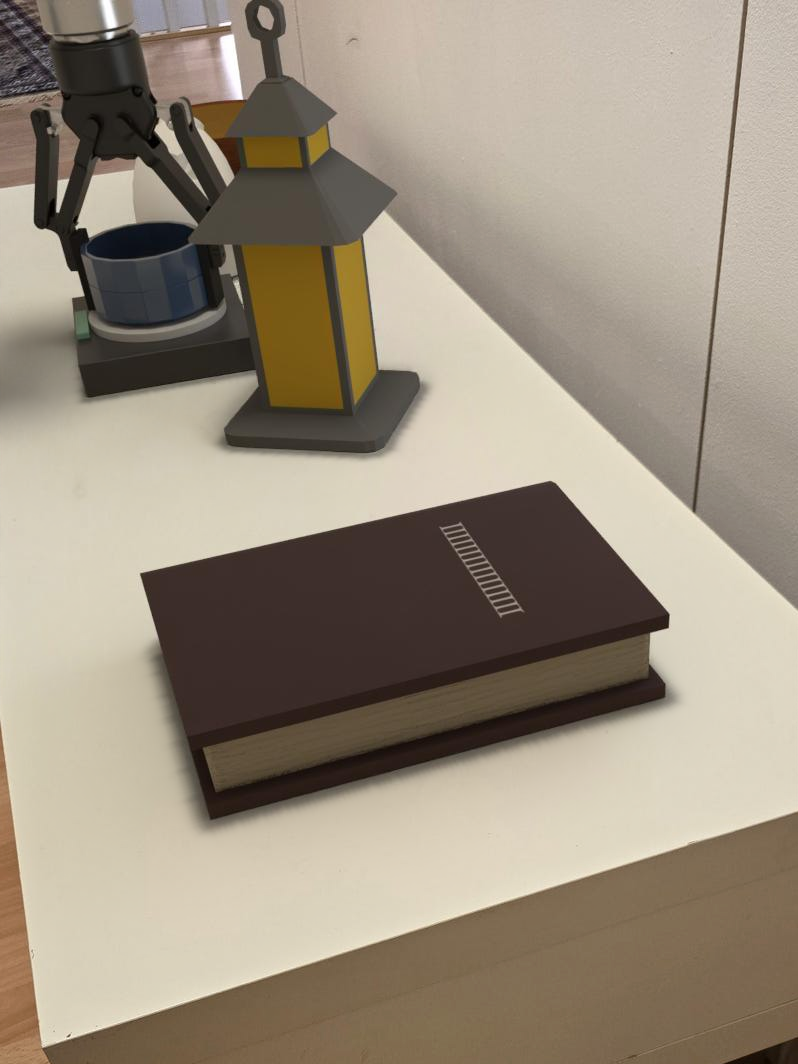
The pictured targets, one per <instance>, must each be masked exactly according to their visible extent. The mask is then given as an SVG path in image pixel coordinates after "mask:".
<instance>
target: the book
mask: <svg viewBox="0 0 798 1064" xmlns="http://www.w3.org/2000/svg"><path fill="white" fill-rule="evenodd" d="M139 575H140V576H139V577H140V579H141V583H142V587H143V590H144V593H145V596H146V600H147V604H148V608H149V611H150V614H151V619H152V621H153V625H154V628H155V632H156V635H157V639H158V642H159V645H160V649H161V652H162V656H163V660H164V662H165V666H166V669H167V673H168V677H169V680H170V684H171V687H172V691H173V694H174V698H175V701H176V704H177V708H178V711H179V714H180V718H181V722H182V726H183V729H184V733H185V736H186V739H187V743H188V747H189V749H190V754H191V757H192V761H193V764H194V767H195V771H196V774H197V778H198V781H199V784H200V788H201V792H202V795H203V798H204V802H205V805H206V808H207V813H208V815H209V819H210V820H213V819H217V818H221V817H223V816H224V817H225V816H228V815H231V814H235V813H239V812H244V811H246V810H250V809H255V808H257V807H262V806H265V805H268V804H273V803H276V802H281V801H284V800H288V799H291V798H294V797H299V796H302V795H306V794H309V793H313V792H318V791H320V790H321V791H322V790H325V789H328V788H332V787H336V786H340V785H343V784H347V783H349V782H350V783H351V782H354V781H358V780H361V779H366V778H368V777H372V776H373V777H374V776H377V775H381V774H384V773H387V772H393V771H395V770H399V769H402V768H406V767H410V766H414V765H417V764H421V763H425V762H428V761H429V762H430V761H433V760H436V759H439V758H444V757H447V756H451V755H455V754H458V753H462V752H465V751H470V750H473V749H477V748H481V747H484V746H488V745H492V744H496V743H499V742H503V741H507V740H511V739H514V738H517V737H522V736H525V735H530V734H533V733H536V732H540V731H544V730H547V729H552V728H555V727H559V726H562V725H563V726H564V725H567V724H569V723H574V722H576V721H581V720H585V719H588V718H591V717H596V716H599V715H603V714H607V713H611V712H615V711H618V710H622V709H626V708H630V707H633V706H636V705H637V706H638V705H641V704H644V703H647V702H651V701H655V700H659V699H663V698H666V687H667V686H666V685H667V684H666V682H665V681H664V679H662V677H661V676H660V675H659V673H658V672H657V671H656V670H655V668H654V667H653V666H652V665H651V663H650V649H651V648H650V647H651V634H652V633H656V632H660V631H664V630H667V629H670V616H671V614H670V612H669V611H668V609H666V607H665V606H664V605H663V604H662V603H661V602H660V601H659V599H657V597H656V596H655V595H654V593H652V592H651V590H650V589H648V587H647V586H646V585H645V583H643V581H642V580H641V579H640V578H639V577H638V576H637V575H636V573H635V572H634V571H633V570H632V568H631V567H630V566H629V565H628V564H627V563H626V562H625V561H624V559H623V558H622V557H621V556H620V555H619V554H618V552H616V550H615V549H614V548H613V546H611V545H610V543H608V541H607V540H606V539H605V538H604V537H603V535H602V534H601V533H600V532H599V531H598V530H597V528H596V527H595V526H594V525H593V524H592V523H591V522H590V520H589V519H588V518H587V517H586V516H585V515H584V514H583V512H582V511H581V510H580V509H579V508H578V507H577V506H576V504H574V502H573V501H572V500H571V499H570V498H569V496H568V495H567V494H566V493H565V492H564V491H563V490H562V488H561V487H560V486H559V485H558V484H557V482H554V481H553V480H548V481H547V480H546V481H543V482H538V483H534V484H529V485H525V486H521V487H517V488H511V489H507V490H503V491H498V492H494V493H490V494H485V495H481V496H475V497H472V498H468V499H463V500H458V501H453V502H449V503H446V504H441V505H436V506H432V507H428V508H423V509H419V510H414V511H411V512H406V513H401V514H397V515H392V516H387V517H383V518H379V519H374V520H369V521H366V522H362V523H357V524H352V525H348V526H343V527H339V528H335V529H334V528H333V529H330V530H326V531H325V530H324V531H321V532H317V533H313V534H307V535H302V536H299V537H294V538H289V539H285V540H281V541H277V542H272V543H268V544H263V545H259V546H255V547H249V548H246V549H242V550H237V551H232V552H228V553H225V554H219V555H213V556H210V557H206V558H202V559H197V560H192V561H188V562H183V563H179V564H175V565H170V566H165V567H161V568H157V569H153V570H149V571H144V572H139Z"/></svg>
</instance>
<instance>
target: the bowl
mask: <svg viewBox="0 0 798 1064" xmlns="http://www.w3.org/2000/svg"><path fill="white" fill-rule="evenodd" d="M247 100H248V99H226V100H217V101H209V102H202V103H195V104H191V107H192V112H193V117H195V118H196V119H198V120H199V121H200V122H201V123H202V124H203V125H204V131H205V132H206V133H207V134H208V135H209V136H210V137H211V139H212V140H213V141H214V142H215V143H216V144H217V146H218V147H219V149H220V150H221V152H222V153H223V155H224V156H225V158H226V160H227V162H228V164H229V166H230V168H231V170H232V172H233V174H234V177H235V176H236V174H237V173H238V171H239V170H240V168H241V164H240V158H239V153H238V147H237V141H236V137H225V134H226V132H227V130H228V129H229V127H230V126H231V124H232V123H233V121H234V120H235V118H236V117H237V115H238V113H239V112H240V110H241V109H242V107H243V106H244V104H245V103H246V101H247ZM159 119H160V118H159ZM158 124H159V120H158V122H157V125H158Z"/></svg>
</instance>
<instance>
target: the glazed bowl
mask: <svg viewBox="0 0 798 1064" xmlns="http://www.w3.org/2000/svg"><path fill="white" fill-rule="evenodd" d="M196 227H197V226H195V225H193V224H190V223H186V222H178V221H147V222H140V223H136V222H134V223H128V224H123V225H119V226H115V227H112V228H109V229H108V228H107V229H105V230H102V231H100V232H98V233H95V234H94V235H92V236H90V237H89V238H88V239H87V240H86V241H85V242H84V243H83V244H82V245H81V246H80V252H81V257H82V260H83V264H84V268H85V271H86V275H87V279H88V282H89V286H90V290H91V293H92V297H93V301H94V305H95V308H96V312H97V314H98V315H100V316H101V317H103V318H105V319H106V320H109V321H115V322H118V323H121V324H126V325H138V326H144V325H156V324H163V323H168V322H173V321H176V320H180V319H183V318H185V317H188V316H190V315H192V314H194V313H196V312H197V311H199V310H200V309H201V308H202V307H204V306H206V305H208V299H207V294H206V289H205V285H204V280H203V275H202V270H201V266H200V261H199V256H198V251H197V247H196V244H193V243H189V241H188V238H189V237H190V235H191V234H192V233H193V231H194V230H195V229H196Z"/></svg>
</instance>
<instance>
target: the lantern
mask: <svg viewBox="0 0 798 1064" xmlns="http://www.w3.org/2000/svg"><path fill="white" fill-rule="evenodd" d="M260 7H264V8H266V9H268V10H269V12H270V14H271V16H272V18H273V22H272V27H271V29H268V28H266V27H264V26H263V25H262V23H261V21H260V19H259V17H258V15H259V10H260ZM244 15H245V20H246V27H247V31H248V33H249V35H250V38H252V39H255V40H257V41H259V42H260V43H259V44H260V50H261V54H262V62H263V69H264V74H265V78H264V79H262V80H261V81H260V82H258V83H257V84H256V86H255V87H254V89H253V90H252V92H251V93H250V94H249V96H248V97H247V99H246V100H247V101H246V103H245V104H244V106H243V107H242V109H241V110H240V112H239V113H238V115H237V117H236V118H235V120H234V121H233V123H232V124H231V126H230V127H229V129H228V130H227V132H226V134H225V137H236V141H237V147H238V153H239V158H240V164H241V168H240V170H239V171H238V173H237V174H236V176H235V177H234V179H233V180H232V181H231V183H230V184H229V185H228V186H227V188H226V189H225V190H224V192H223V193H222V194H221V196H220V197H219V198H218V200H217V201H216V202H215V204H214V205H213V206H212V208H211V209H210V210H209V212H208V213H207V214H206V215H205V217H204V218H203V219H202V221H201V222H200V223H199V225H198V226H197V227H196V229H195V230H194V231H193V233H192V234H191V235H190V237H189V238H188V241H189V243H193V244H215V245H232V247H233V253H234V258H235V263H236V269H237V274H238V275H237V278H238V283H239V289H240V290H239V291H240V295H241V300H242V306H243V308H244V311H245V316H246V322H247V327H248V332H249V338H250V343H251V348H252V354H253V359H254V364H255V369H254V370H255V374H256V380H257V385H258V386H257V387H256V389H254V391H253V392H252V393H251V394H250V396H249V397H248V398H247V399H246V401H245V402H244V403H243V404H242V405H241V406H240V408H239V409H238V410H237V411H236V413H235V414H234V415H233V416H232V417H231V419H230V420H229V422H228V423H227V424H226V425H225V426H224V427H223V431H224V435H225V440H226V444H227V445H230V446H233V447H241V448H242V447H243V448H244V447H245V448H261V449H264V448H265V449H283V450H284V449H285V450H302V451H303V450H304V451H305V450H307V451H322V452H323V451H325V452H327V451H328V452H345V453H346V452H347V453H372V452H377V451H378V450H380V449H383V448H384V447H385V446H386V445H387V443H388V442H389V440H390V438H391V437H392V434H393V433H394V431H395V430H396V428H397V427H398V425H399V423H400V422H401V420H402V419H403V417H404V415H405V413H406V412H407V409H408V408H409V406H410V405H411V403H412V402H413V400H414V398H415V397H416V395H417V393H418V392H419V390H420V389H421V383H420V376H419V375H418V373H417V372H415V371H411V370H401V369H400V370H397V369H395V370H394V369H379V359H378V352H377V350H378V349H377V343H376V334H375V325H374V318H373V317H374V316H373V308H372V299H371V292H370V284H369V283H370V282H369V275H368V274H369V273H368V266H367V258H366V249H365V241H364V234H365V233H366V232H367V231H368V229H369V228H370V227H371V226H372V225H373V223H374V222H375V221H376V220H377V219H378V217H379V216H380V215H381V214H382V213H383V212H384V210H386V208H387V207H388V206H390V204H391V203H392V202H393V200H394V199H395V198H396V197H397V196H398V192H397V191H396V189H394V188H392V187H391V186H389V185H388V184H387V183H385V182H383V180H380V179H379V178H378V177H376V176H375V175H374V174H372V173H370V172H369V171H368V170H366V169H365V168H363V167H361V166H360V165H358V164H357V163H356V162H354V161H353V160H351V159H350V158H348V157H347V156H345V155H344V154H342V153H341V152H339V151H338V150H336V149H335V148H334V147H332V144H331V143H332V142H331V137H330V128H329V122H330V121H331V120H332V119H333V118H334V117H335V116H337V115H338V112H337V111H336V110H335V109H333V108H332V107H331V106H329V105H328V104H327V103H326V102H325V101H323V100H322V99H321V98H320V97H318V96H317V95H315V93H313V92H312V91H310V90H309V89H308V88H307V87H306V86H304V85H303V84H301V83H300V82H299V81H298V80H297V79H296V78H294V77H292V76H290V75H285V74H284V73H283V66H282V60H281V58H282V57H281V51H280V45H279V38H280V37H282V36H284V35H285V34H286V29H287V22H286V15H285V7H284V4H282V2H281V1H280V0H250V1H249V2H248V3H247V4H246V6H245V9H244Z"/></svg>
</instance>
